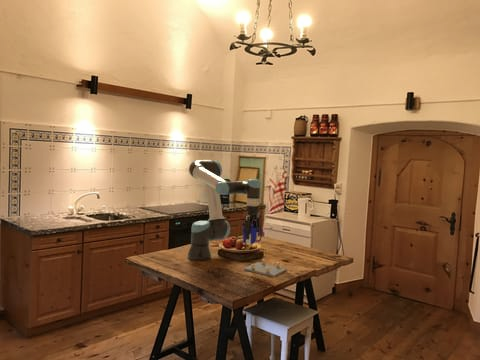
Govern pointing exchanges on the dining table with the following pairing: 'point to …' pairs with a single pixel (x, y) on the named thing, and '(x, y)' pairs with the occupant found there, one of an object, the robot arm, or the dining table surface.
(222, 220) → the robot arm
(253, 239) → the mug
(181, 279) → the dining table surface
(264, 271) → the tray
